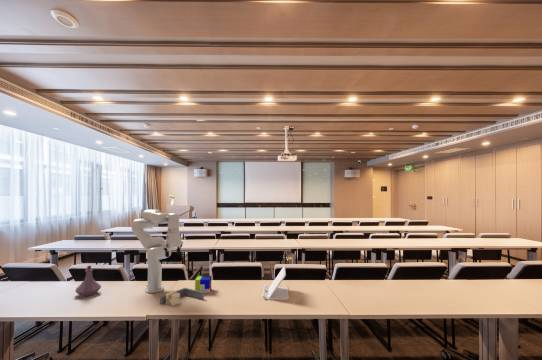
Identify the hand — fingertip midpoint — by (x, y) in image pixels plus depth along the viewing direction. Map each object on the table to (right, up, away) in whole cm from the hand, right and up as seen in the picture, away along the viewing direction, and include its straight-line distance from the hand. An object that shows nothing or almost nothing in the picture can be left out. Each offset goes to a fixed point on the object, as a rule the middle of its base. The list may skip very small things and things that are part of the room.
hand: (172, 255), depth 199 cm
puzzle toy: (+19, -29, +9) cm, 36 cm away
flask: (-62, -29, +3) cm, 68 cm away
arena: (+10, -28, -12) cm, 32 cm away
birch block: (+5, -27, -15) cm, 31 cm away
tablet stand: (+72, -29, +4) cm, 78 cm away
